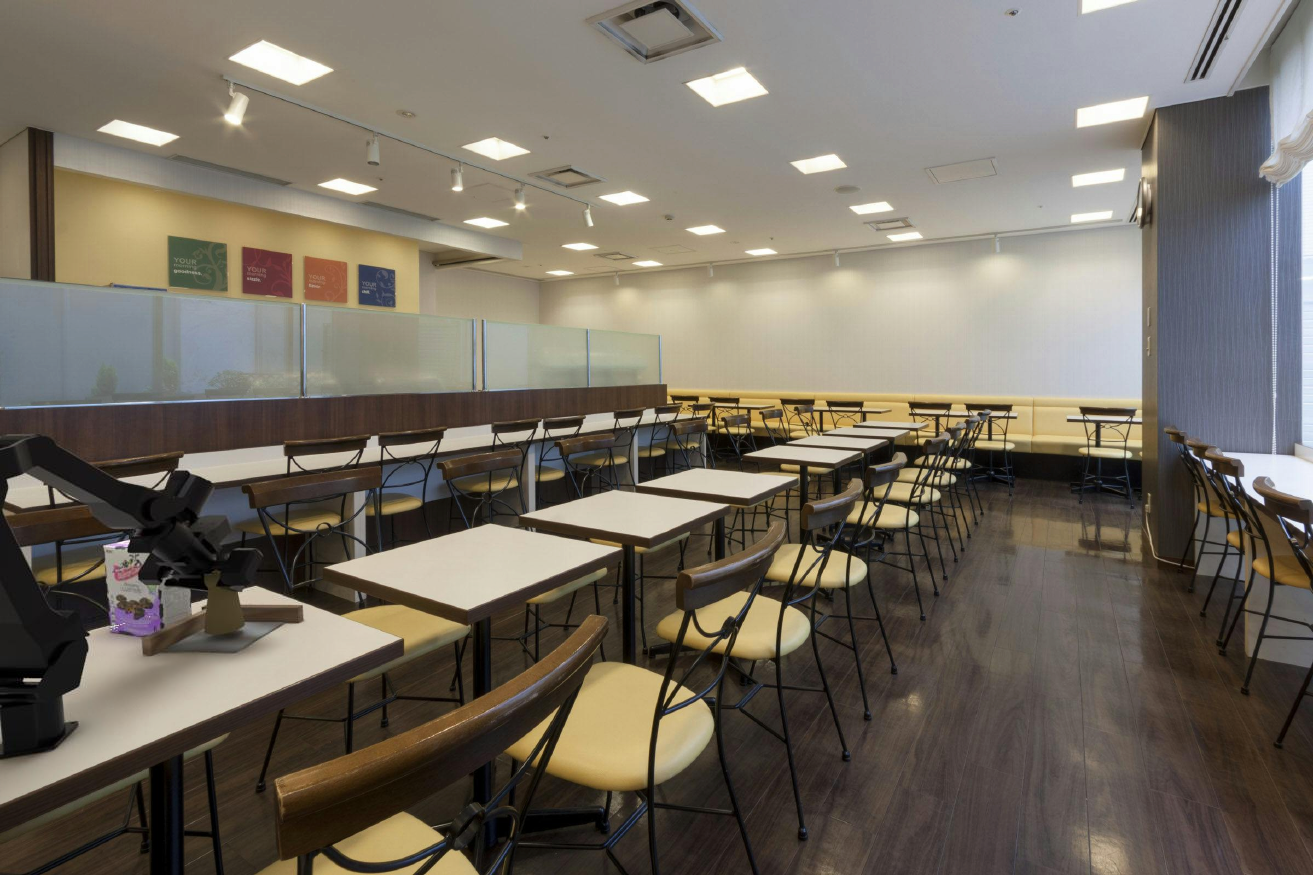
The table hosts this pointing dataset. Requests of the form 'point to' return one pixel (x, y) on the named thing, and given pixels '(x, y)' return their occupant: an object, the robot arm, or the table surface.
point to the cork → (221, 608)
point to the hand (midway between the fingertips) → (228, 589)
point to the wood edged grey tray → (194, 639)
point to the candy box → (139, 595)
